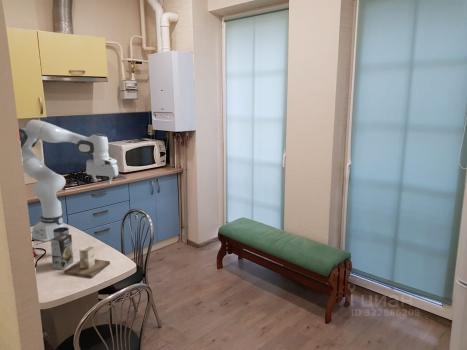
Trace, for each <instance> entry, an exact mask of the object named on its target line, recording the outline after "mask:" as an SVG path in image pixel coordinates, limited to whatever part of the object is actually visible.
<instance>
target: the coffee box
mask: <svg viewBox="0 0 467 350" xmlns="http://www.w3.org/2000/svg"><path fill="white" fill-rule="evenodd" d="M72 237H73V236H72V234H71V233H69V234H60V235H58V236H57V237H55V238H53V239H51V240H50V247H51V261H52V269H53V268H54V269H59V270H64V269H65V268H67V267H68V266H69V265H71V264H73V263H74V251H73V249H74V248H73V240H72V239H73V238H72Z"/></svg>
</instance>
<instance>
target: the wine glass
mask: <svg viewBox="0 0 467 350" xmlns="http://www.w3.org/2000/svg"><path fill="white" fill-rule="evenodd" d="M69 229H70V228H69V227H67V226H66V227H65V226H64V227H59V228H56V229H54V230H53V234H54V238H55V237H57V236H58V235H60V234H70V230H69Z"/></svg>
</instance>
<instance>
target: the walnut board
mask: <svg viewBox="0 0 467 350" xmlns="http://www.w3.org/2000/svg"><path fill="white" fill-rule="evenodd" d="M94 260H95V265H93V266H92V267H91V268H89V269H87V268H81V265H80V260H79V261H77V262H75V263H74V264H72V265H71V266H69V267H68V268H67V269H65V270H64V274H65V275H70V276H71V275H72V276H77V277H83V278H90V279H92V278H94V277H95V276H97V275H98V274H99V273H100V272H101V271H103V270H104V269H105V268H107V267H108V266H109V265H111V261H109V260H103V259H97V258H94Z"/></svg>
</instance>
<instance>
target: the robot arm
mask: <svg viewBox="0 0 467 350" xmlns="http://www.w3.org/2000/svg"><path fill="white" fill-rule="evenodd" d="M18 129H19V131H20V140H21V149H22V157H23V166H24V170H23V171H24V173H25V174H26V175H27V176H28V177H29V178H33V179H35V180H36V182H35V183H34V184H33V186H32V190H31V191H32V194H33V195H34V196H35V197H37V198H38V200H39V201H40V205H41V212H42V215H41V216H39V217H38V219H39V220H40V221H39V222H37V223H36V224H35V225H33V227H32V232H31V233H32V238H31V239H34V240H37V241H41V242H49V241H51V239H53V238H54V234H53V230H54V229H56V228H59V227H65V224H64V214H63V209H62V202H61V200H59V199H58V197H57V193H58V192H60V191H61V190H63V188H65V186H66V184H67V183H66V178H65V177H64V176H63V175H62V174H58V173H56V172H55V171H54V170H52V169H50V168H49V167H47V165H45V164H44V163H43V162H42V161H41V159H40V158H39V157H38V156H37V155H36V154H35V152H34V151H33V150H32V148H34V147H35V146H36V144H37V142H39V141H44V142H46V143H51V144H52V143H53V144H58V143H73V144H75V145H76V146H75V147H76V150H77V152H78V153H79V155H82V156H87V155H92V156H93V159H87V160H86V165H85V166H86V168H85V169H86V170H85V172H86V174H87V175H89V176H91V177H92V179H93V182H94V183H98V180H99V179H98V178H97V177H96V176H100V177H108V178H109V179H108V180H107V184H112V180H113V178H114V177H115V178H116V177H118V176H119V166H118V165H117V163H118V161H117V159H115V158H112V157H110V154H109V141H108V140H109V139H108V136H107V135H106V134H104V133H99V132H96V133H93V134H92V135H90V136H86V135H82V134H79V133H76V132H74V131H71V130H68V129H65V128H63V127H60V126H58V125H55V124H52V123H49V122H46V121H44V120H40V119H31V120H29V121H28V122H27V124H26V125H25V127H20V128H19V127H18Z"/></svg>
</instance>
